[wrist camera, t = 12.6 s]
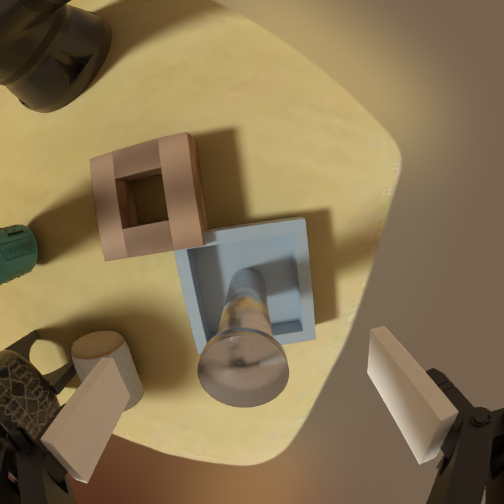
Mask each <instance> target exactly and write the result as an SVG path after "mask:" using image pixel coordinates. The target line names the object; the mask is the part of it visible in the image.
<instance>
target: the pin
mask: <svg viewBox="0 0 504 504" xmlns="http://www.w3.org/2000/svg"><path fill="white" fill-rule="evenodd" d="M198 378H199V381H200V383H201V385H202V387H203V388H204V390H205V391H206V392H207V393H208V394H209V395H210V396H211V397H213V398H214V399H216V400H217V401H219V402H221V403H224V404H226V405H230V406H234V407H255V406H259V405H262V404H265V403H267V402H270V401H271V400H273V399H275V398H276V397H277V396H278V395H279V394H280V393H281V392H282V391H283V390H284V388H285V386H286V384H287V382H288V378H289V368H288V363H287V358H286V354H285V351H284V349H283V347H282V346H281V345H280V343H279V342H278V341H277V340H276V339H275V338H273V333H272V326H271V320H270V313H269V306H268V299H267V292H266V286H265V280H264V278H263V276H262V274H261V273H260V272H258V271H257V270H255V269H252V268H243V269H240V270H238V271H237V272H236V273H235V274H234V275H233V276H232V278H231V281H230V285H229V289H228V293H227V297H226V301H225V305H224V309H223V313H222V317H221V321H220V325H219V329H218V333H217V335H215V336H214V337H213V338H211V339H210V340H209V341H208V343H207V344H206V345H205V347H204V349H203V351H202V354H201V358H200V361H199V364H198Z"/></svg>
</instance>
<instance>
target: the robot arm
mask: <svg viewBox="0 0 504 504" xmlns="http://www.w3.org/2000/svg"><path fill="white" fill-rule="evenodd" d="M69 1H71V0H0V84H1V85H4V86H6V87H7V88H8V89H9V90H10V91H11V92H12V93H13V94H14V95H15V96H17V97H18V99H19V101H20V102H21V103H22V104H23V105H24V106H25V107H26V108H28V109H30V110H34V111H37V112H40V113H48V112H52V111H55V110H57V109H60V108H61V107H63V106H65V105H66V104H68V103H69V102H71V101H72V100H73V99H74V98H75V97H77V96H78V95H79V94H80V93H81V92H82V91H83V90H84V89H85V88H86V87H87V85H88V84H89V83H90V82H91V81H92V79H93V78H94V77H95V75H96V74H97V72H98V71H99V69H100V67H101V66H102V64H103V62H104V60H105V58H106V56H107V53H108V50H109V47H110V42H111V31H110V28H109V26H108V24H107V23H106V22H105V21H104V20H103V19H102V18H101V17H100V16H99V15H97V14H96V13H93V12H89V11H85V10H82V9H80V8H77V7H73V6H70V5H67V4H66V3H68V2H69ZM367 373H368V375H369V376H370V378H371V380H372V382H373V383H374V385H375V386H376V388H377V390H378V392H379V393H380V395H381V397H382V398H383V400H384V402H385V404H386V405H387V407H388V409H389V411H390V412H391V414H392V416H393V418H394V419H395V421H396V423H397V425H398V426H399V428H400V430H401V432H402V434H403V436H404V437H405V439H406V441H407V443H408V445H409V446H410V448H411V450H412V452H413V454H414V456H415V457H416V459H417V461H418V463H419V464H422V463H424V462H426V461H429V460H431V459H433V458H435V457H436V456H437V454H438V452H439V450H440V449H441V450H442V452H443V453H444V456H443V457H442V459H441V461H440V462H439V464H438V466H437V467H436V468H439V470H438V473H437V476H436V479H435V482H434V485H433V487H432V490H431V493H430V495H429V498H428V500H427V503H426V504H481V501H482V497H483V493H484V489H485V485H486V503H485V504H504V408H502V409H499V410H495V411H492V412H491V411H489V410H488V409H486V408H483V407H475V408H474V407H473V406H472V405H471V403H470V402H469V401H468V400H467V399H466V398H465V397H464V396H463V394H462V393H461V392H460V391H459V390H458V389H457V388H456V387H455V386H454V384H453V383H452V382H451V381H449V379H448V378H447V377H446V376H445V375H444V374H443V373H442V372H440V371H438V370H436V369H434V368H433V369H430V370H428V371H424V370H423V369H422V367H421V366H420V365H419V364H418V363H417V362H416V361H415V359H414V358H413V357H412V356H411V355H410V354H409V353H408V352H407V350H406V349H405V348H404V347H403V346H402V345H401V344H400V343H399V342H398V340H397V339H396V338H395V337H394V336H393V335H392V334H391V333H390V332H389V331H388V329H386V327H385V326H382V327H378V328H373V329H370V346H369V359H368V371H367ZM130 397H131V396H130V394H129V392H128V390H127V388H126V386H125V384H124V382H123V379H122V377H121V375H120V373H119V370H118V368H117V366H116V363H115V361H114V359H113V358H101V360H100V361H99V362H98V363H97V365H96V366H95V367H94V368H93V370H92V371H91V372H90V373H89V375H88V376H87V377H86V378H85V380H84V381H83V382H82V384H81V385H80V386H79V387H78V389H77V390H76V391H75V393H74V394H73V395H72V397H71V398H70V399H69V400H68V402H67V403H66V404H64V405H62V406H61V407H60V408H58V409H57V410H56V412H55V413H54V414H53V417H51V418H50V420H49V422H47V424H46V425H45V426H44V428H43V429H42V431H41V432H40V433H39V435H38V436H37V437H36V439H35V440H34V439H33V438H32V436H31V435H30V434H29V432H28V431H27V430H26V429H25V428H24V427H23V426H15V427H13V428H11V429H10V430H9V431H8V432H7V434H6V437H5V438H6V440H7V441H8V442H9V443H10V445H11V446H10V445H9V443H8V442H7V441H6V440H5V439H4V438H2V437H0V504H77V503H76V500H75V498H74V494H73V492H72V489H71V485H70V482H69V480H68V478H67V477H66V474H67V472H69V474H70V475H71V476H72V477H73V478H74V479H77V480H79V481H82V482H85V483H88V481H89V479H90V477H91V475H92V473H93V470H94V468H95V466H96V464H97V462H98V460H99V458H100V456H101V454H102V452H103V450H104V448H105V446H106V444H107V442H108V440H109V438H110V436H111V434H112V432H113V430H114V428H115V426H116V424H117V422H118V420H119V418H120V416H121V414H122V412H123V410H124V409H125V407H126V405H127V403H128V401H129V399H130ZM8 474H10V475H11V476H12V477H13V478H14V482H12V481H11V480H10V479H8Z"/></svg>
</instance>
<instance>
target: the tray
mask: <svg viewBox="0 0 504 504" xmlns="http://www.w3.org/2000/svg"><path fill="white" fill-rule="evenodd" d="M204 238H205V245H204V246H201V247H194V248H187V249H181V250H174V253H175V258H176V263H177V268H178V273H179V278H180V282H181V287H182V291H183V296H184V300H185V304H186V309H187V313H188V317H189V321H190V325H191V329H192V333H193V337H194V341H195V344H196V348H197V352H198V354H202V351H203V349H204V347H205V345H206V344H207V343H208V341H209V340H210V339H211V338H213V337H214V336H215V335H217V333H218V329H219V325H220V321H221V317H222V313H223V309H224V305H225V301H226V297H227V293H228V289H229V285H230V281H231V278H232V276H233V275H234V274H235V273H236V272H237V271H238V270H240V269H243V268H252V269H255V270H257V271H258V272H260V273H261V274H262V276H263V278H264V280H265V286H266V292H267V299H268V306H269V313H270V320H271V326H272V333H273V338H275V339H276V340H277V341H278V342H279V343H280V345H284V344H291V343H297V342H303V341H309V340H315V339H316V334H315V318H314V304H313V291H312V279H311V268H310V258H309V248H308V239H307V230H306V222H305V218H303V217H300V216H297V217H290V218H282V219H275V220H268V221H261V222H254V223H247V224H240V225H233V226H226V227H220V228H213V229H208V230H207V231H206V232H204Z"/></svg>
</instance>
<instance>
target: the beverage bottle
mask: <svg viewBox="0 0 504 504" xmlns="http://www.w3.org/2000/svg"><path fill="white" fill-rule="evenodd" d="M37 258H38V247H37V242H36V239H35V236H34V234H33V233H32V231H31V230H30V229H29V228H28V227H27V226H24V225H22V224H21V225H18V224H17V225H15V226H12V225H11V226H10V227H6V228H0V285H1V284H3V283H7V281H9V282H11V280H13V279H14V278H16V277H18V278H19V277H21V276H23V275H26V274H25V273H28V272H31V271H32V269H33V268H34V266H35V265H36V262H37Z"/></svg>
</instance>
